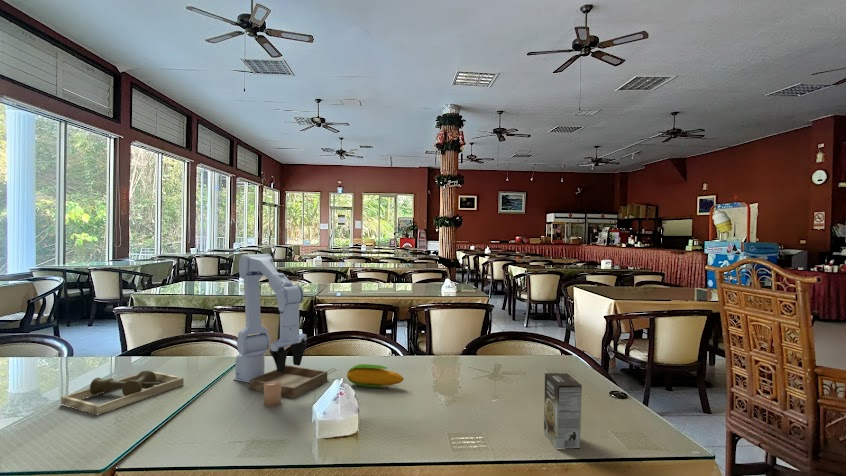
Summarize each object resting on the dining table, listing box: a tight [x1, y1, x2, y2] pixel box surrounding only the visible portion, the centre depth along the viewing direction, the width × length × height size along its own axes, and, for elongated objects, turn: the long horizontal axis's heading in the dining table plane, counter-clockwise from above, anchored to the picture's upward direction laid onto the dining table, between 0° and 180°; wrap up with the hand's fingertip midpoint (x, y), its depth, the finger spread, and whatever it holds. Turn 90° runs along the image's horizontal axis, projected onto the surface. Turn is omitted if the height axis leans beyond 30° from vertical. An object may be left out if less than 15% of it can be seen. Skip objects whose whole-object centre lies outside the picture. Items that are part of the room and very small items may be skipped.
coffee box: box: [543, 372, 583, 449], centre depth 113 cm, size 9×6×16 cm
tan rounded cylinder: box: [263, 381, 282, 408], centre depth 134 cm, size 5×5×6 cm
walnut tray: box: [249, 364, 328, 399], centre depth 150 cm, size 18×18×3 cm
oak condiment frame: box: [60, 370, 185, 415], centre depth 139 cm, size 17×27×2 cm, turn 157°
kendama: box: [89, 369, 161, 397], centre depth 139 cm, size 6×10×20 cm
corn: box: [346, 363, 404, 389], centre depth 150 cm, size 7×8×20 cm
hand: (289, 368), depth 137 cm, fingers open, 7 cm apart
